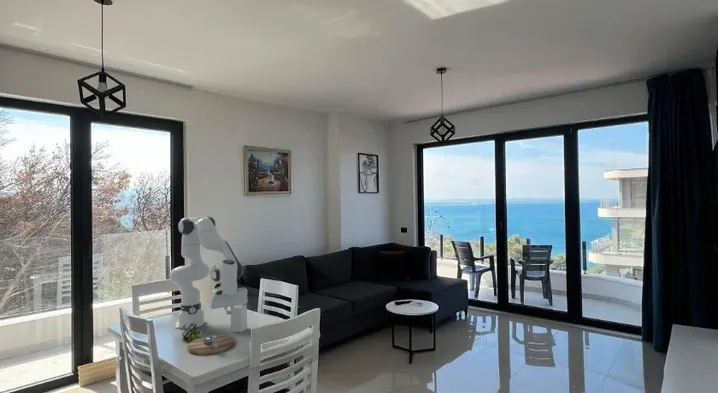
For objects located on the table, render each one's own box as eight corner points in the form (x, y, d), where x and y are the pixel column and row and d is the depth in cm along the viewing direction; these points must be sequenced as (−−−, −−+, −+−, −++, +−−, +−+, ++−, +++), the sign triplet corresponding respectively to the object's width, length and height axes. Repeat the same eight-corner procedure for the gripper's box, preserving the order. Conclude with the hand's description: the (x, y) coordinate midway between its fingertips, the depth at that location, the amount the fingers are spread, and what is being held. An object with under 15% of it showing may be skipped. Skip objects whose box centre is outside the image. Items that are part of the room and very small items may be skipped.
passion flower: (184, 349, 233) (181, 329, 238) (204, 342, 237) (200, 323, 243) (182, 343, 224) (178, 323, 229) (202, 337, 228) (198, 317, 234)
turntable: (184, 344, 224) (184, 329, 224) (228, 335, 236) (228, 322, 236) (191, 358, 204) (191, 342, 203) (239, 348, 216) (239, 333, 216)
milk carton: (241, 332, 242) (241, 301, 242) (230, 332, 244) (230, 300, 244) (247, 328, 249) (246, 298, 249) (236, 328, 251) (236, 297, 251)
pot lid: (202, 342, 221) (202, 336, 221) (216, 339, 224) (215, 334, 224) (205, 346, 215) (205, 340, 215) (218, 343, 219) (218, 337, 219)
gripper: (245, 285, 233) (246, 309, 233) (208, 290, 223) (209, 315, 223) (249, 288, 228) (249, 312, 228) (211, 293, 217) (211, 318, 217)
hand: (229, 314), depth 225 cm, fingers closed
